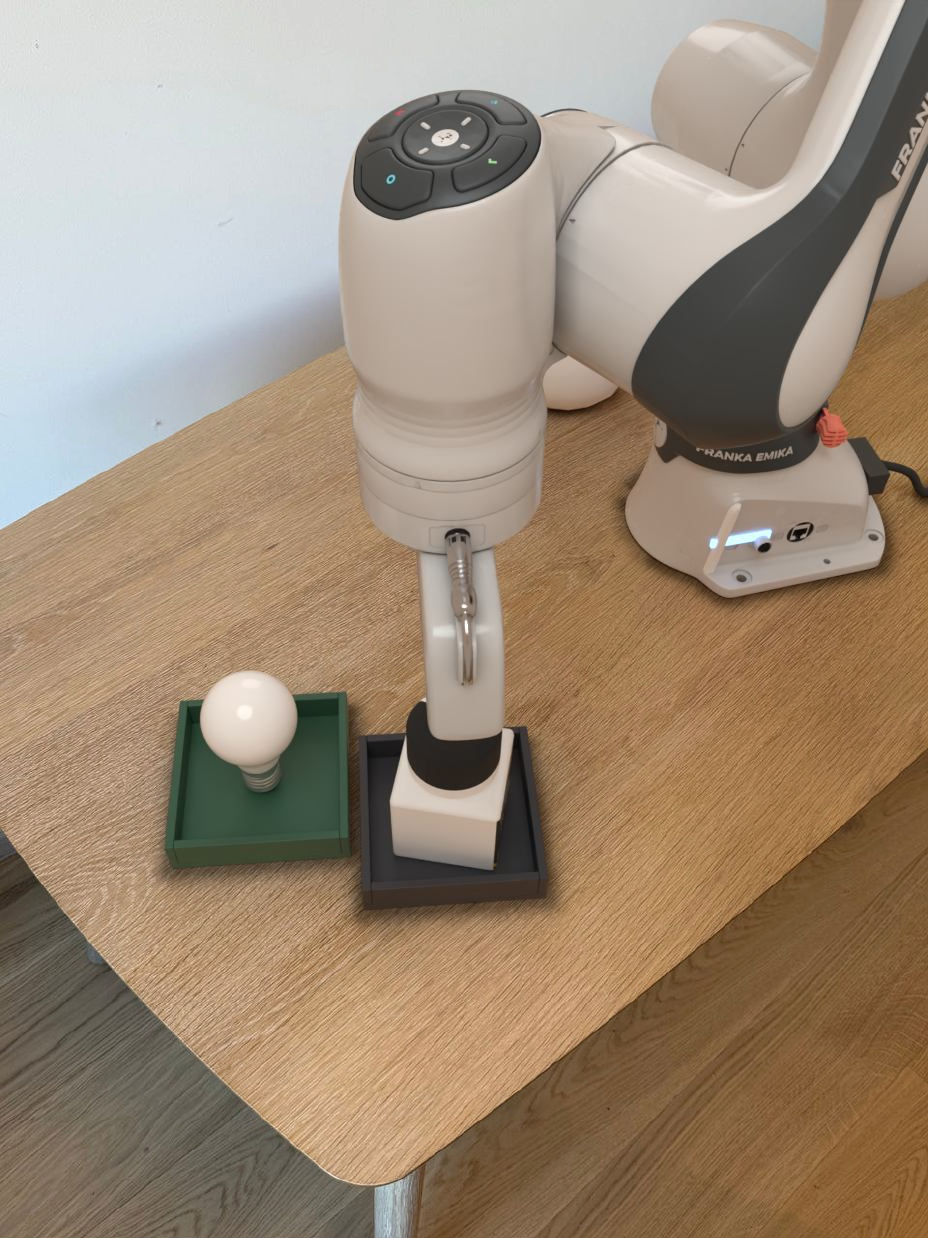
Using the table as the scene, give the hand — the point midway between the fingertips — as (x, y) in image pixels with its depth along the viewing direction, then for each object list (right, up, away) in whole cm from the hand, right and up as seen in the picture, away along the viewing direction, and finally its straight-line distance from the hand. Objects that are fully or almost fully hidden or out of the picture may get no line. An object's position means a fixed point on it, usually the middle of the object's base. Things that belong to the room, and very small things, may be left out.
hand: (453, 645), depth 63 cm
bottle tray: (-1, -13, +15) cm, 20 cm away
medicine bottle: (0, -13, +15) cm, 19 cm away
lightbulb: (-14, -10, +16) cm, 24 cm away
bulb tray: (-14, -11, +17) cm, 24 cm away
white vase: (+10, +25, +48) cm, 55 cm away
